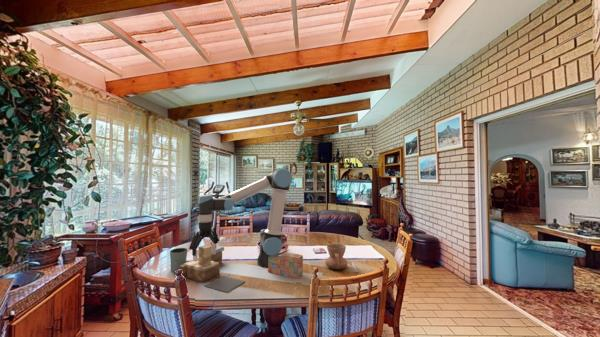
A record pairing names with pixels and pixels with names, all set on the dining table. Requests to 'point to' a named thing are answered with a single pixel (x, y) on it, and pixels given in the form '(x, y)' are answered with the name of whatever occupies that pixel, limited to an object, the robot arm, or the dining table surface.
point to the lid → (202, 260)
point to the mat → (225, 284)
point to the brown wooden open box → (203, 275)
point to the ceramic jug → (336, 256)
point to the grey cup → (177, 258)
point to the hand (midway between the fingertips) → (204, 257)
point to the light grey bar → (218, 250)
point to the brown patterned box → (286, 265)
